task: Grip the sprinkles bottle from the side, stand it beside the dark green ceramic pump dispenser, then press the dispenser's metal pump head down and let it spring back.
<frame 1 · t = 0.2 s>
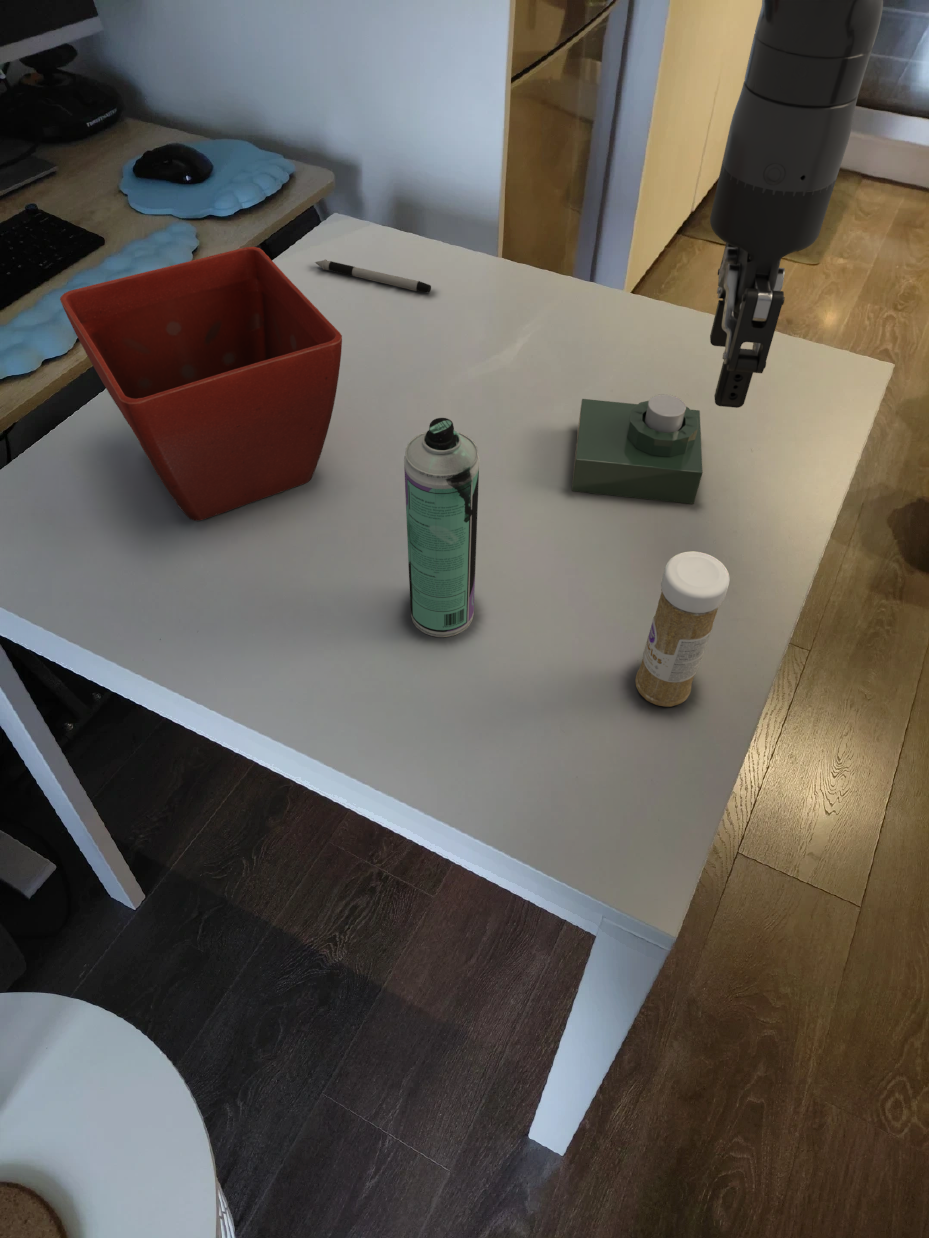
hand: (725, 373, 72), 18 cm above the table, tool pointing down, fingers open, 8 cm apart
sprinkles bottle: (662, 688, 73), on the table
flower pot: (232, 469, 91), on the table
pump: (665, 413, 87), point 7 cm above the table, slide at 0.1 cm
pen: (372, 281, 116), on the table
spray can: (442, 614, 78), on the table
dispenser: (633, 465, 92), on the table
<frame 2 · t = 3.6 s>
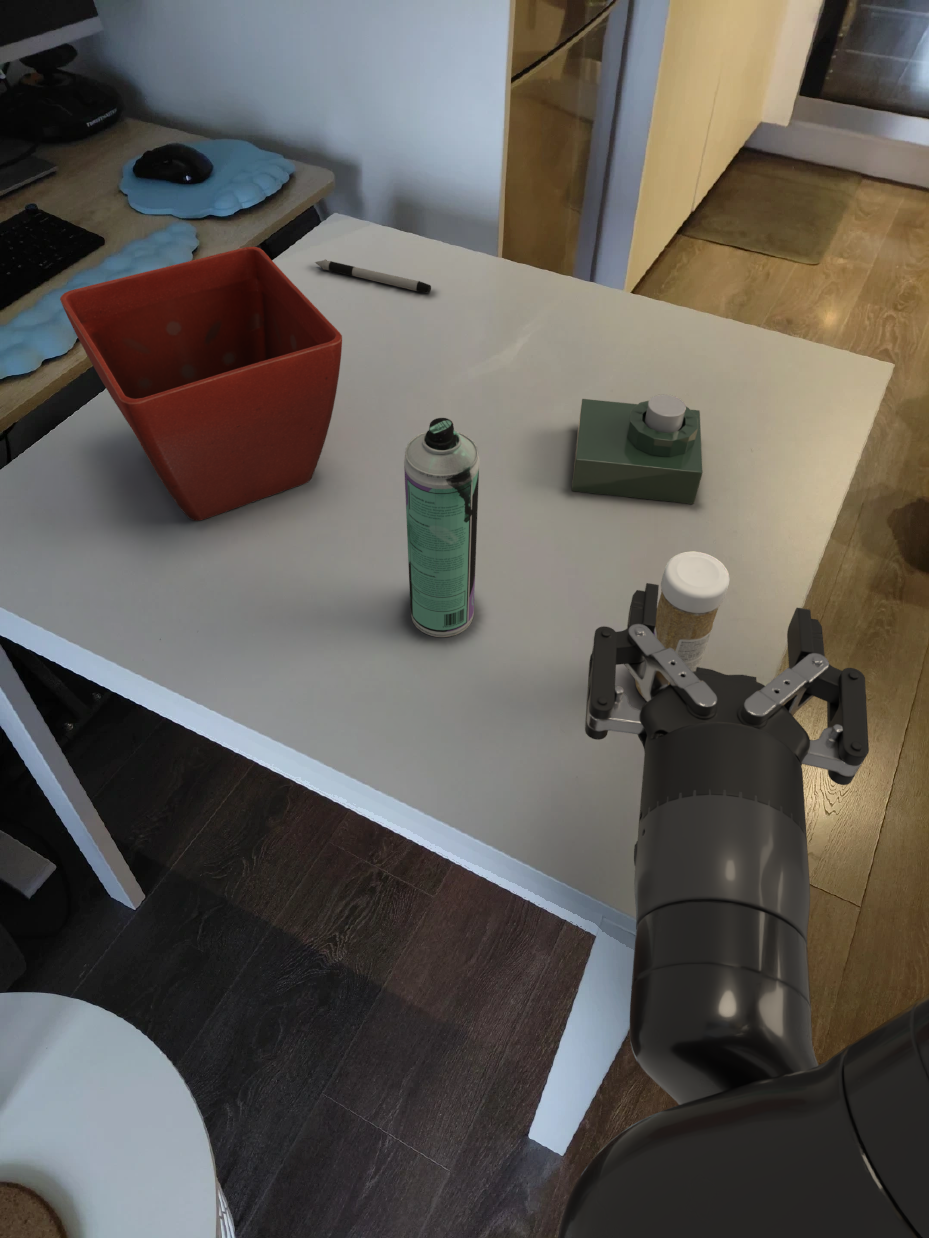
hand: (722, 606, 52), 20 cm above the table, tool horizontal, fingers open, 8 cm apart
nothing on the table moved.
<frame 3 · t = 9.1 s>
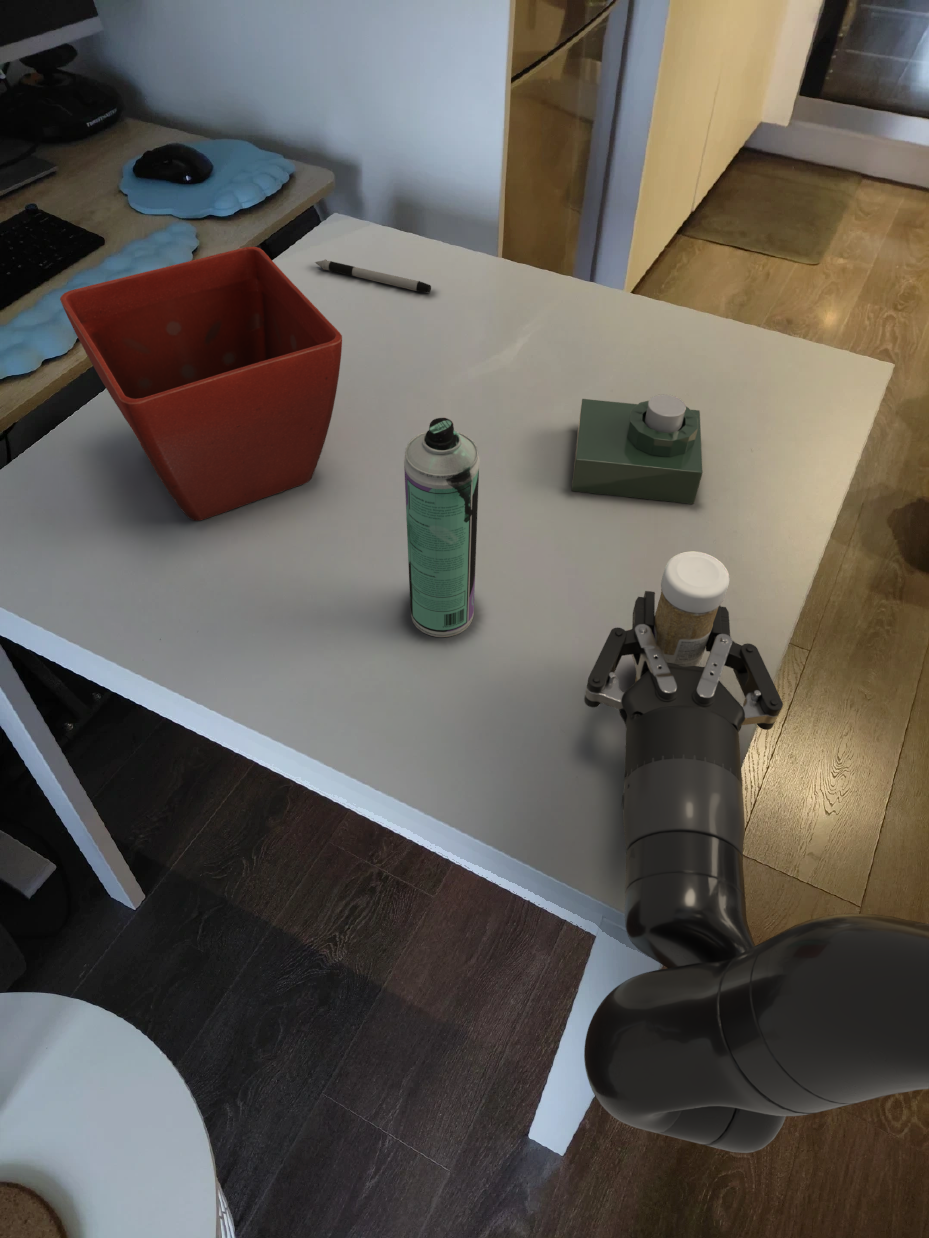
hand: (679, 603, 70), 7 cm above the table, tool horizontal, fingers closed on sprinkles bottle, 4 cm apart
sprinkles bottle: (662, 688, 73), on the table, touching gripper
everything else where it was.
when the fingers open (7 cm above the table, at t = 16.4 s): sprinkles bottle stays where it is, on the table.
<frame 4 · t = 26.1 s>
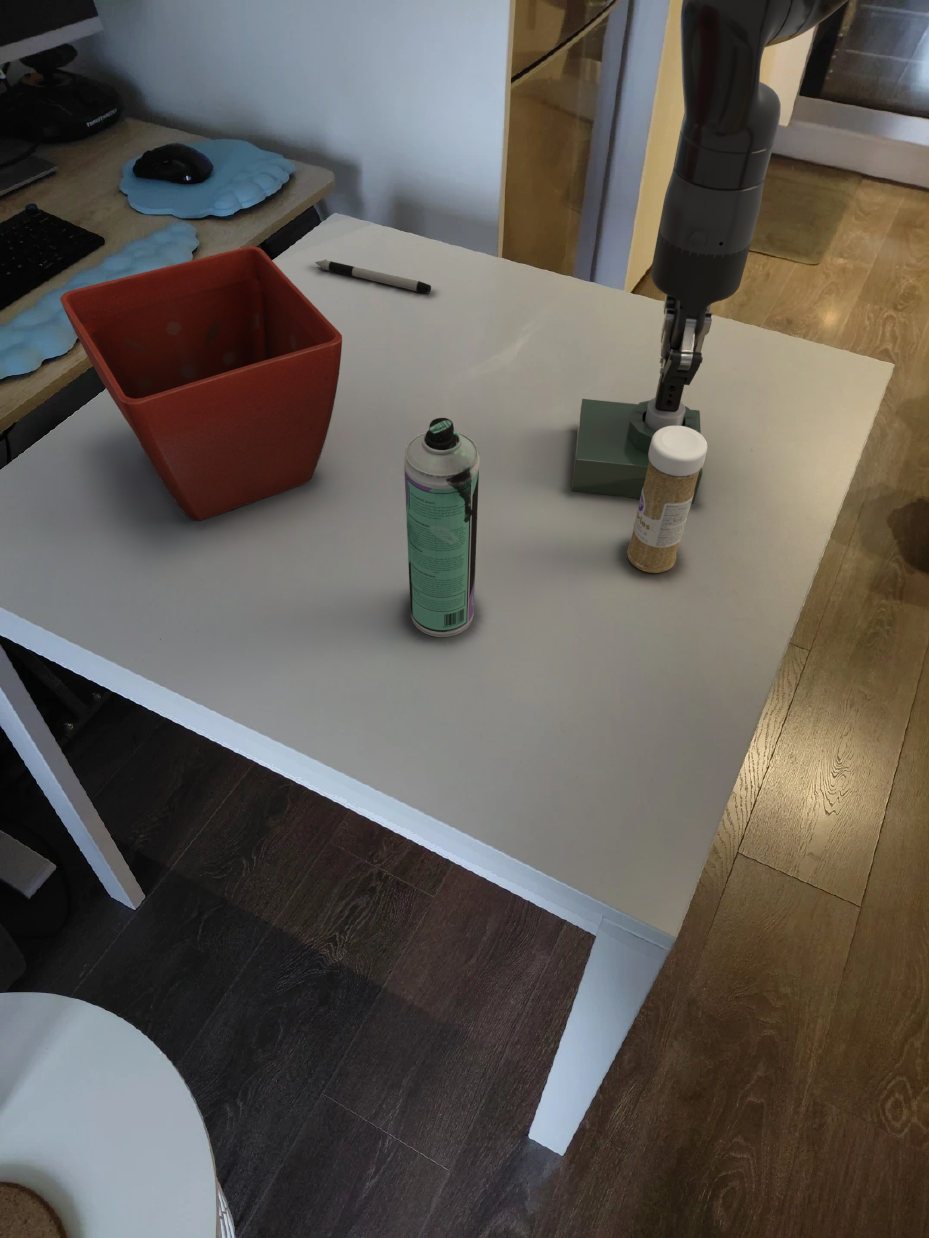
hand: (666, 406, 86), 7 cm above the table, tool pointing down, fingers closed
sprinkles bottle: (650, 559, 83), on the table
pump: (664, 415, 87), point 6 cm above the table, slide at -0.1 cm, touching gripper
everything else where it was.
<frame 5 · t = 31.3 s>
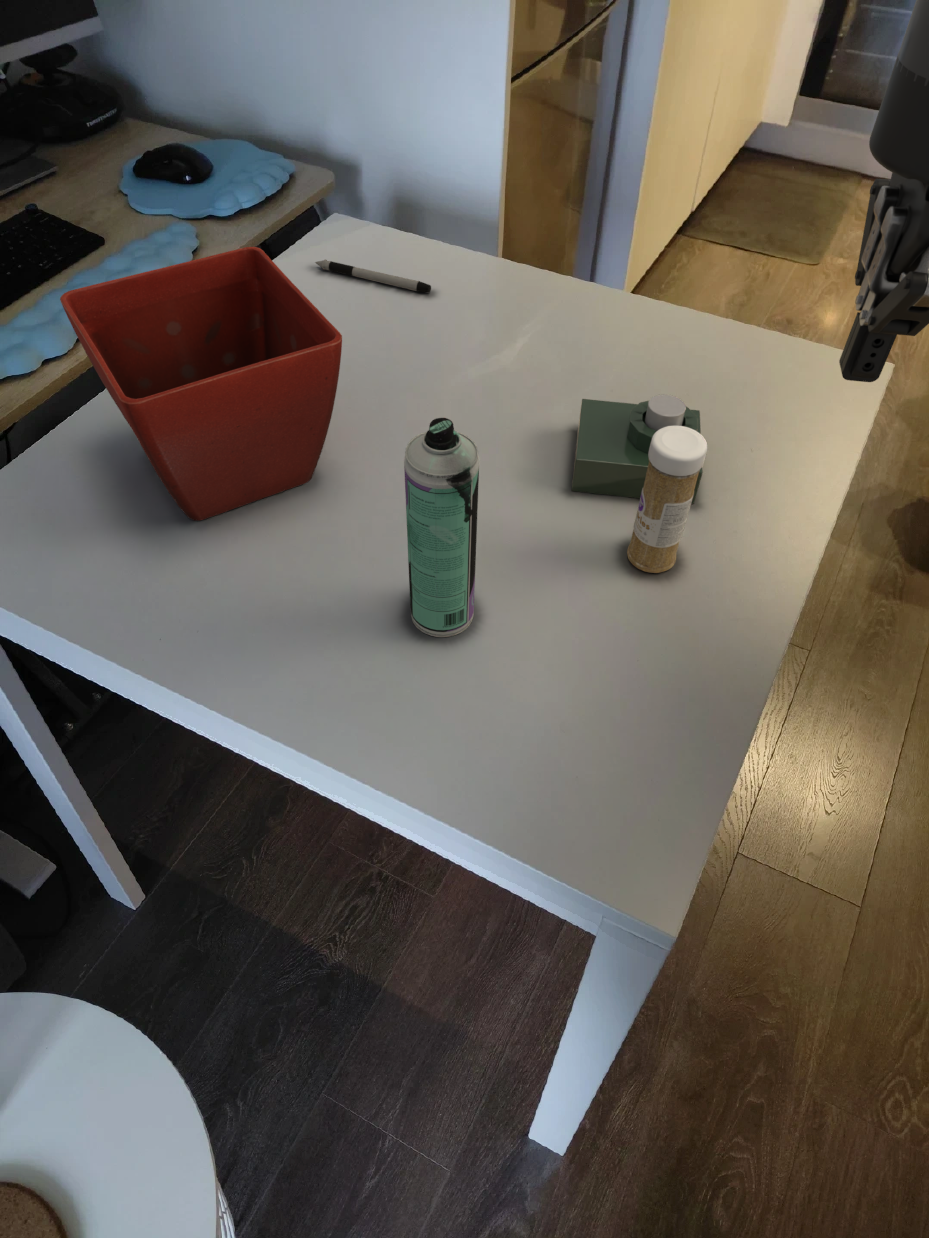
hand: (856, 374, 56), 27 cm above the table, tool pointing down, fingers closed
pump: (665, 413, 87), point 7 cm above the table, slide at 0.1 cm
everything else where it was.
at the end: sprinkles bottle inside the target area on the table beside the dispenser (0.2 cm from its centre), on the table; sprinkles bottle tilted 0°; pump pushed in 1.3 cm at the most during the clip, back to where it started at the end; pump slide at 0.1 cm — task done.
